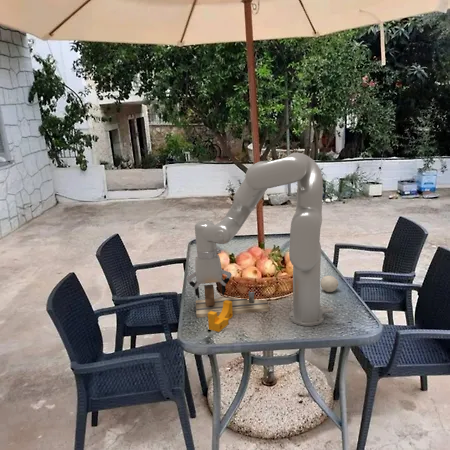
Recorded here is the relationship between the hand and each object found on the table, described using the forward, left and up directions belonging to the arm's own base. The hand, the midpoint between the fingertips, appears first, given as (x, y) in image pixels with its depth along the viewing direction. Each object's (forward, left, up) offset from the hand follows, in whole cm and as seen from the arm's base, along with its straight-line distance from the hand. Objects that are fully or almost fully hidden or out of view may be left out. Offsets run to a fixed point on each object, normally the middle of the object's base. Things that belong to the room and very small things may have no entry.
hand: (210, 295), depth 160 cm
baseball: (-50, -7, -6) cm, 51 cm away
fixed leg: (-16, 0, -4) cm, 17 cm away
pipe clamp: (-3, +12, -6) cm, 14 cm away
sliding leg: (+1, 0, -4) cm, 4 cm away
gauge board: (-8, 0, -6) cm, 10 cm away
